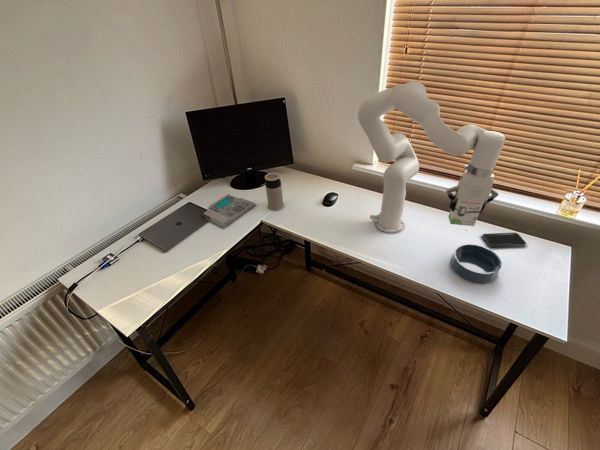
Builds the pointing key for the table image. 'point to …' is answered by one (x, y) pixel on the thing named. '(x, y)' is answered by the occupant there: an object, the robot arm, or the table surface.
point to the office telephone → (228, 210)
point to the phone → (503, 240)
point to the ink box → (465, 212)
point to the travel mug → (274, 191)
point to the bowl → (475, 263)
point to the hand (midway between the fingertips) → (465, 210)
